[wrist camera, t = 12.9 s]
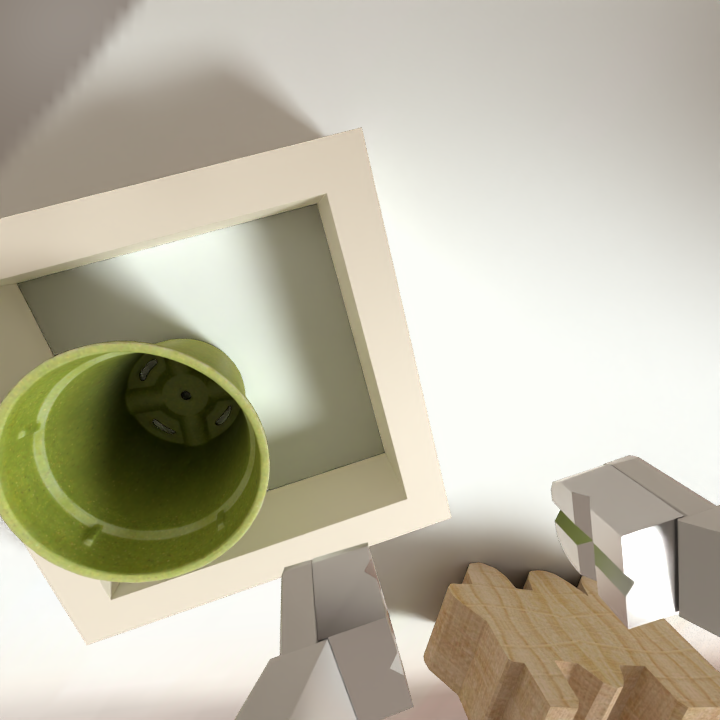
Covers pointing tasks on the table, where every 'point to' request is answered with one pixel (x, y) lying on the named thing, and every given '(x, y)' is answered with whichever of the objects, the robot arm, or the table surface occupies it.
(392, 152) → the table surface
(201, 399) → the plant pot
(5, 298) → the cream open tray
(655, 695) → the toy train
